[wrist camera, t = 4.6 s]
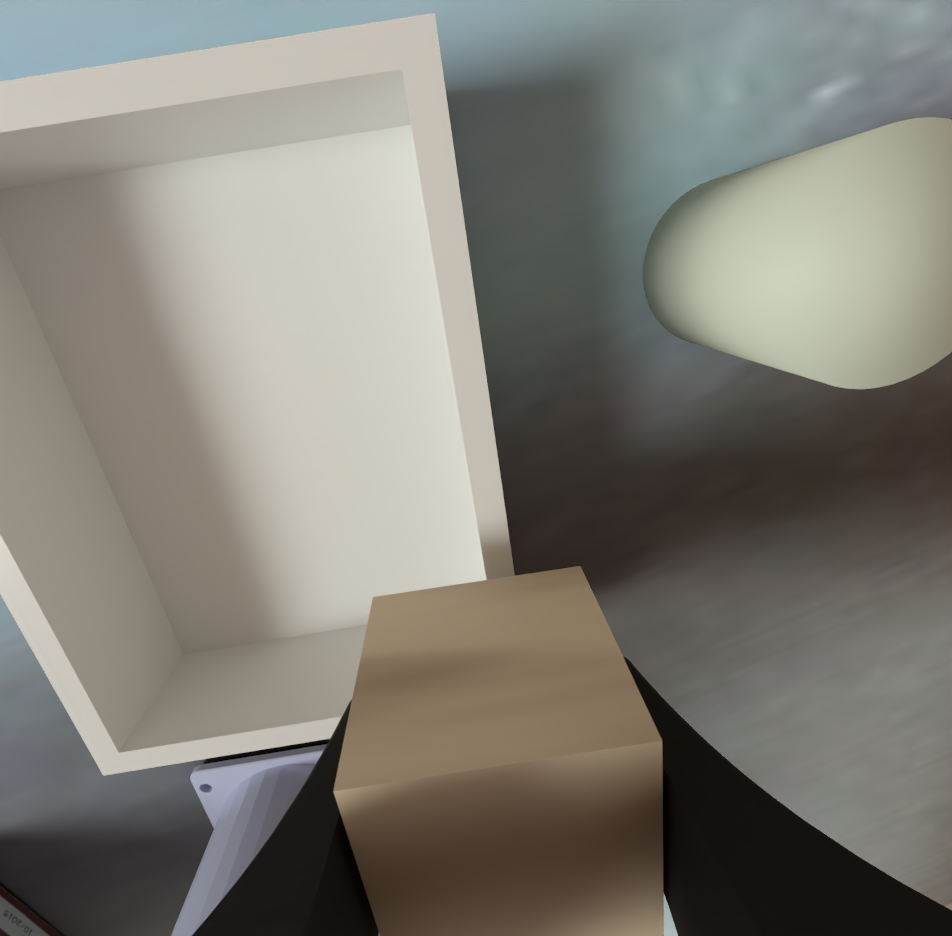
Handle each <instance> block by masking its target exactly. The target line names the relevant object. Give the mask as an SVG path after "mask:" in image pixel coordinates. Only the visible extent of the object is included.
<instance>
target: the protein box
mask: <svg viewBox="0 0 952 936" xmlns="http://www.w3.org/2000/svg"><path fill="white" fill-rule="evenodd" d="M0 936H62V935H61V934H60V933H59V932H58V931H56V930H55V929H54V928H53V927H51V926H50V925H49V924H48V923H46V922H45V921H44V920H42V919H41V918H40V917H39V916H38V915H36V914H35V913H34V912H33V911H31V910H30V909H29V908H28V907H27V906H25V905H24V904H23V903H22V902H20V901H19V900H18V899H17V898H15V897H14V896H13V895H12V894H10V893H9V892H8V891H7V890H6V889H4V888H3V887H2V886H1V885H0Z"/></svg>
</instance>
